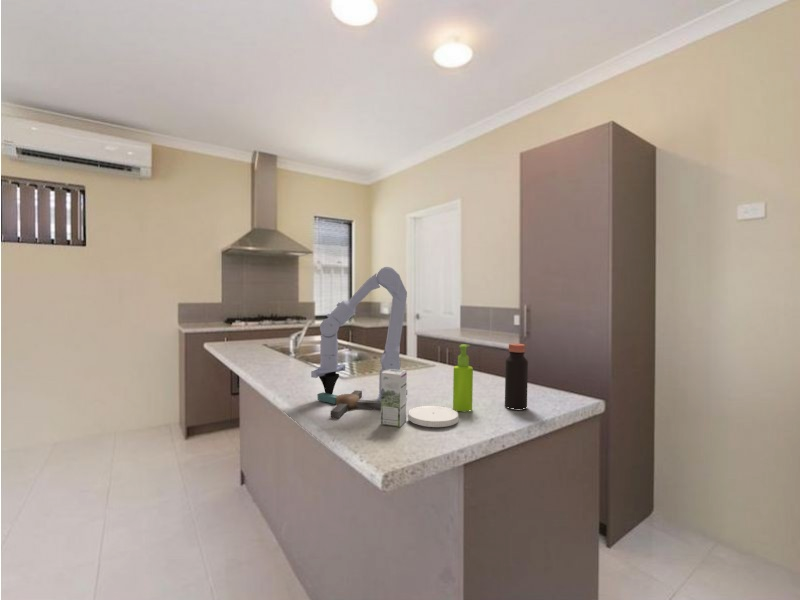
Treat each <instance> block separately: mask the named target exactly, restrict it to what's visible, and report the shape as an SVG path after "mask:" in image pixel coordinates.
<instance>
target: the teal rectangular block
mask: <svg viewBox="0 0 800 600" xmlns="http://www.w3.org/2000/svg"><path fill="white" fill-rule="evenodd" d="M337 396H338V395H337V394H328V393H325V391H324V392H319V393H317V401H319V402H325V403H329V404H333V405H336V397H337Z"/></svg>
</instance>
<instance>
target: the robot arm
mask: <svg viewBox="0 0 800 600" xmlns="http://www.w3.org/2000/svg"><path fill="white" fill-rule="evenodd" d="M404 285H405V284H404V282H403V281H402V278H401V276H400V274H399V273H398V272H397V271H396V270H395V269H394V268H393V267H390V266H384V267H382V268H380V269H379V271H378V272H376V273H375V274H373V275H372V276H371V277H369V278H368V279H367V280H366V281H365V282H364V283H363V284H362V285H361V287H360V288H359V289H358V290H357V291H356V292H354V294H353V295H352V296H351V297H350V298H349V299H348V300H342V301H341V302H338V303H337V304H336V307H335V308H334V309H333V311H331V313H328V314H327V315H326V317H327V318H325V319H323V320H322V321H321V322H320V326H319V331H320V334H321V335H320V346H319V347H320V351H319V352H320V353H319V354H320V356H319V357H320V361H319V363H320V364H319V365H320V366H318V368H317V369H315V370H311V373H310V374H311V375H310V377H311V378H314V379H317V378H319V380H320V381H321V383H322V386H323V389H324V393H328V394H333V393H334V389H335V385H336V383H337V380H338V379H339V377H340V374H339V373H337V372H343V371H344V372H345V371H346V364H339V341H338V331H339V329H340V327H343V326H344V325H345V324H346V323H347V322H348V321H349V320H350V318H351V317H353V316H354V315H355V313H356V307H357V306H358V305H359V303H361V302H362V301H363V299H365V298H366V297H367V296H368V295H369V294H370V293H371V291H373V290H376V289H380V288H381V287H383V288H384V289H385V290H387V292H388V293H389V294H390V295H391V297H392V299H391V300H392V301H391V305H390V314H389V321H388V326H387V327H388V328H387V333H386V334H387V335H386V341H385V346H384V351H383V353H382V354H381V356H380V364H381V365H380V366H381V369H380V370H379V371H378V372H379V373H378V374H379V375H378V376H379V377H378V378H379V379H378V381H379V382H378V384H379V386H378V387H379V388H378V389H379V391H378V396H377V400H376V401H381V373H382V372H383V371H384V370H386V369H395V370H401V365H402V362H401V360H400V352H401V348H400V344H401V339H402V332H403V325H404V324H403V323H404V320H405V319H404V318H405V311H406V305H407V304H406V303H407V298H408V292H407V290H406V287H405V286H404ZM407 386H408V385H407ZM407 386H406V396H408V389H407ZM333 395H334V394H333Z"/></svg>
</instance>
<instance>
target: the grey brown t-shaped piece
mask: <svg viewBox="0 0 800 600" xmlns="http://www.w3.org/2000/svg"><path fill="white" fill-rule="evenodd" d="M362 397H363V391H362V390H353V392H351V393H342V394H339V395H338V396H337V397H336V404H335V405H336V406H334V407H333V408H332V409H331V410H330V419H334V418H337V419H338V420H339V419H341V418H342V417H343V416H344V415H345V414H346V413H347V412H348V411H350V410H351V411H352V410H355V409H361V410H362V409H365V410H379V411H381V401H377V400H374V399H373V400H371V399H369V400H368V399H361V398H362ZM344 413H345V414H344ZM337 419H336V420H337Z"/></svg>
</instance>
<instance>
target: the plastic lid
mask: <svg viewBox="0 0 800 600" xmlns="http://www.w3.org/2000/svg"><path fill="white" fill-rule="evenodd" d="M407 417H408V420H409V421H410V422H411V423H413V424H415V425H418V426H421V427H429V428H431V427H432V428H443V427H444V428H445V427H450V426H453V425H455V424H457V423H458V422H459V413H458V411H455V410H453V408H450V407H445V406H438V405H423V406H422V405H421V406H415V407H414V408H410V409H409V411H408V413H407Z"/></svg>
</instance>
